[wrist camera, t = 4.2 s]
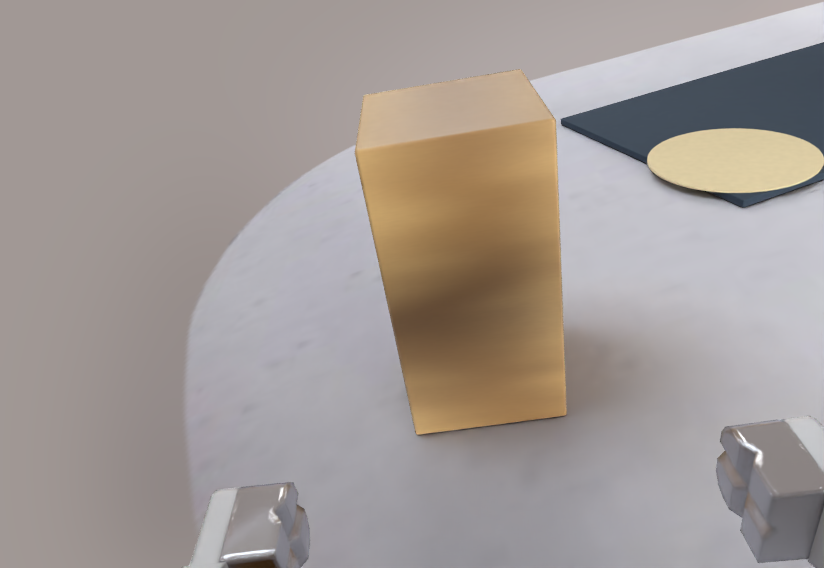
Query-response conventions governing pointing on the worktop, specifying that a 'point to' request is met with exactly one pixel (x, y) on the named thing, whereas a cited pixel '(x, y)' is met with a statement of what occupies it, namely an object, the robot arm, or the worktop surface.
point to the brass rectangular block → (468, 247)
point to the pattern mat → (726, 128)
